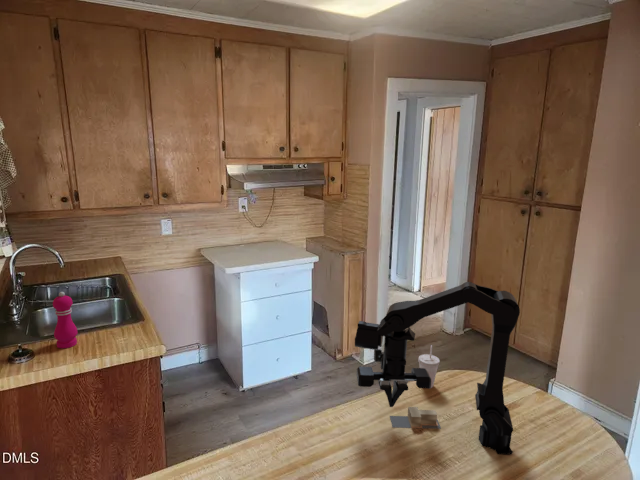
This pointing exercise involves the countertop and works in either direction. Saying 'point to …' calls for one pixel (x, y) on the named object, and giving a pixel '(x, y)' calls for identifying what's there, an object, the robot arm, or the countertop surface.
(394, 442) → the countertop surface
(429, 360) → the smoothie
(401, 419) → the mat
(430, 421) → the t block
